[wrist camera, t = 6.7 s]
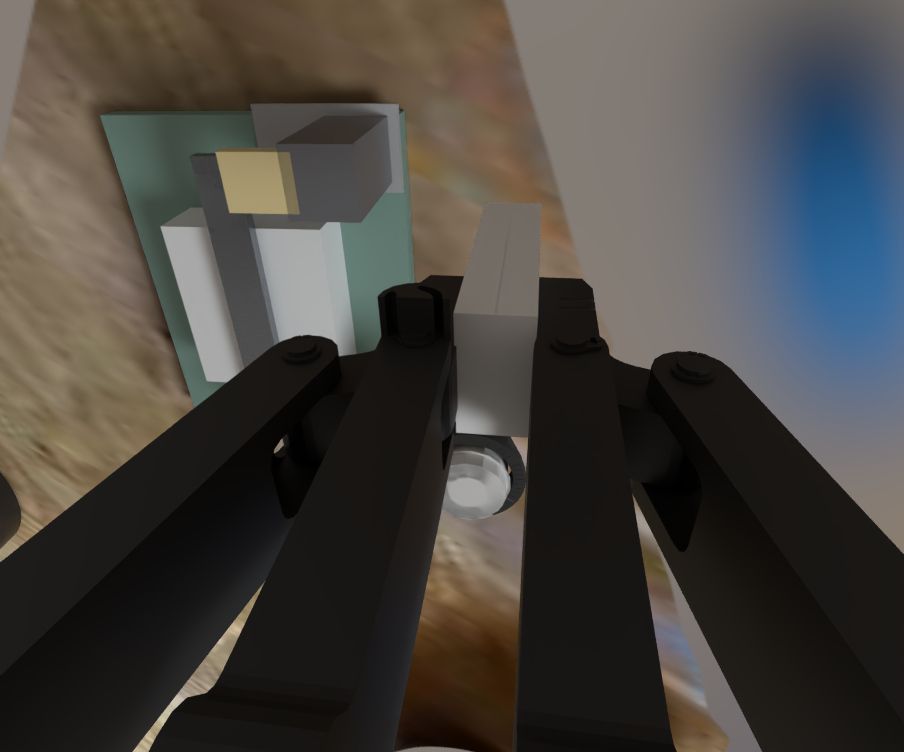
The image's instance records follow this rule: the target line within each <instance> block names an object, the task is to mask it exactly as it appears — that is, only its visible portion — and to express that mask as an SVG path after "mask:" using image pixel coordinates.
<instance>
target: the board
mask: <svg viewBox="0 0 904 752" xmlns="http://www.w3.org/2000/svg"><path fill="white" fill-rule="evenodd" d="M250 107H251V111H113V112H110V113H106V114H103V115H100V117H101V120H102V123H103V126H104V129H105V133H106V136H107V139H108V142H109V145H110V148H111V151H112V154H113V157H114V160H115V163H116V167H117V170H118V173H119V176H120V179H121V182H122V185H123V188H124V191H125V194H126V197H127V201H128V204H129V207H130V210H131V213H132V216H133V219H134V222H135V225H136V228H137V231H138V235H139V238H140V241H141V244H142V247H143V250H144V253H145V256H146V259H147V262H148V265H149V269H150V272H151V275H152V278H153V281H154V284H155V287H156V290H157V293H158V296H159V299H160V303H161V306H162V309H163V312H164V315H165V318H166V321H167V324H168V327H169V330H170V333H171V337H172V340H173V343H174V346H175V349H176V352H177V355H178V358H179V361H180V364H181V368H182V371H183V374H184V377H185V380H186V383H187V386H188V389H189V392H190V395H191V398H192V402H193V405H194V408H195V407H196V406H198V405H199V404H200V403H202V402H203V401H204V400H205V399H207V398H208V397H209V396H210V395H212V394H213V393H214V392H215V391H217V390H218V389H219V388H220V387H222V386H223V385H224V384H225V383H227V382H228V381H229V380H230V379H232V378H233V377H234V376H236V375H237V374H238V373H239V372H241V371H242V370H243V369H244V366H243V362H242V358H241V354H240V350H239V347H238V343H237V339H236V335H235V331H234V327H233V323H232V319H231V316H230V312H229V308H228V304H227V300H226V296H225V292H224V288H223V285H222V281H221V277H220V273H219V269H218V265H217V261H216V257H215V254H214V250H213V246H212V242H211V238H210V234H209V230H208V226H207V223H206V219H205V215H204V211H203V207H202V203H201V199H200V195H199V192H198V188H197V184H196V180H195V176H194V172H193V168H192V164H191V160H190V157H189V156H191V155H193V154H195V153H215V152H216V151H218V150H220V149H222V148H276V143H278V142H280V141H281V140H283V139H285V138H287V137H288V136H290V135H292V134H294V133H295V132H297V131H299V130H301V129H302V128H304V127H306V126H307V125H309V124H311V123H313V122H314V121H316V120H318V119H320V118H321V117H323V116H387V119H388V132H389V145H390V158H391V171H392V184H391V185H390V186H389V187H388V189H387V190H386V191H385V193H384V194H383V195H382V196H381V198H380V199H379V200H378V202H377V203H376V204H375V205H374V207H373V208H372V209H371V211H370V212H369V213H368V214H367V216H366V217H365V218H364V220H363V221H362V222H361V223H344V222H295V221H289V217H288V214H255V213H252V215H253V220H254V225H255V230H256V234H257V239H258V244H259V248H260V253H261V258H262V263H263V267H264V272H265V277H266V281H267V286H268V291H269V295H270V300H271V305H272V310H273V314H274V319H275V324H276V328H277V333H278V338H279V342H281V341H283V340H286V339H290V338H292V337H294V336H299V335H301V336H303V335H313V336H322V337H325V338H328V339H331V340H333V341H334V342H335V343H336V344H337V346H338V352H339V356H344V355H352V354H359V353H364V352H369V351H372V350H375V349H376V347H377V345H378V342H379V340H380V338H381V327H380V318H379V308H378V298H377V296H378V295H379V294H380V293H381V292H382V291H384V290H386V289H388V288H390V287H392V286H396V285H401V284H405V283H415V277H414V261H413V244H412V228H411V212H410V195H409V179H408V162H407V146H406V130H405V113H404V110H399V103H255V104H250Z"/></svg>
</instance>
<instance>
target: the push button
mask: <svg viewBox="0 0 904 752" xmlns="http://www.w3.org/2000/svg"><path fill="white" fill-rule="evenodd" d="M453 440H454V450H453V455H452V460H451V465H450V470H449V475H448V480H447V485H446V490H445V495H444V500H443V505H442V510H444V511H446V512H448V513H449V514H451V515H453V516H455V517H460V518H465V519H470V520H471V519H478V518H486V517H488V516H491V515H495V514H498V513H501V512H503V511H505V510H507V509H508V508H510V507H511V506H513V505H514V504H515V503H516V502H517V501H518V500H519V498H520V497H521V495H522V493H523V491H524V488H525V482H526V471H525V466H524V463H523V461H522V457H521V455H520V453H519V451H518V449H517V448H516V446H515V444H514V442H513V440H512V439H511V437H510V436H497V435H483V434H468V433H456V418H455V423H454V428H453ZM508 465H509V466H510V468H511V472H510V474H509V475H508V473H507V471H508Z"/></svg>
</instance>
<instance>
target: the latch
mask: <svg viewBox="0 0 904 752" xmlns="http://www.w3.org/2000/svg"><path fill="white" fill-rule="evenodd" d="M215 153H216V157H217V161H218V166H219V170H220V174H221V178H222V183H223V187H224V191H225V196H226V200H227V204H228V209H229V213H255V214H288V217H289V221H295V222H344V223H361V222H362V221H363V220H364V218H365V217H366V216H367V214H368V213H369V212H370V211H371V209H372V208H373V207H374V205H375V204H376V203H377V202H378V200H379V199H380V198H381V196H382V195H383V194H384V193H385V191H386V190H387V189H388V187H389V186H390V185H391V184H392V171H391V158H390V145H389V132H388V119H387V116H323V117H321V118H320V119H318V120H316V121H314V122H313V123H311V124H309V125H307V126H306V127H304V128H302V129H301V130H299V131H297V132H295V133H294V134H292V135H290V136H288V137H287V138H285V139H283V140H281V141H280V142H278V143H276V148H222V149H220V150H218V151H216V152H215Z"/></svg>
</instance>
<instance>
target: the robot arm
mask: <svg viewBox="0 0 904 752" xmlns="http://www.w3.org/2000/svg"><path fill="white" fill-rule="evenodd" d="M541 205H542V204H540V203H488V202H486V203H485V207H484V210H483V214H482V217H481V221H480V224H479V227H478V231H477V234H476V238H475V241H474V244H473V248H472V251H471V255H470V258H469V262H468V265H467V268H466V272H465V275H464V276H440V275H430V276H429V277H428V278H426V279H425V280H423V281H422V282H420V283H405V284H401V285H396V286H392V287H390V288H388V289H386V290H384V291H382V292H381V293H380V294H379V295H378V296H377V298H378V308H379V318H380V327H381V338H380V340H379V342H378V345H377V347H376V349H375V350H372V351H369V352H364V353H359V354H352V355H344V356H339V352H338V346H337V344H336V343H335V342H334V341H333V340H331V339H328V338H325V337H322V336H313V335H303V336H301V335H299V336H294V337H292V338H290V339H286V340H283V341H281V342H279V343H277V344H276V345H274V346H272V347H271V348H269V349H268V350H267V351H266V352H264V353H263V354H262V355H261V356H259V357H258V358H257V359H256V360H254V361H253V362H252V363H251V364H249V365H248V366H247V367H246V368H244V369H243V370H242V371H241V372H239V373H238V374H237V375H236V376H234V377H233V378H232V379H230V380H229V381H228V382H227V383H225V384H224V385H223V386H222V387H220V388H219V389H218V390H217V391H215V392H214V393H213V394H212V395H210V396H209V397H208V398H207V399H205V400H204V401H203V402H202V403H200V404H199V405H198V406H196V407H195V408H194V409H193V410H191V411H190V412H189V413H188V414H186V415H185V416H184V417H183V418H181V419H180V420H179V421H178V422H176V423H175V424H174V425H173V426H171V427H170V428H169V429H168V430H166V431H165V432H164V433H162V434H161V435H160V436H159V437H157V438H156V439H155V440H154V441H152V442H151V443H150V444H149V445H147V446H146V447H145V448H144V449H142V450H141V451H140V452H139V453H137V454H136V455H135V456H134V457H132V458H131V459H130V460H129V461H127V462H126V463H125V464H123V465H122V466H121V467H120V468H118V469H117V470H116V471H115V472H113V473H112V474H111V475H110V476H108V477H107V478H106V479H105V480H103V481H102V482H101V483H100V484H98V485H97V486H96V487H95V488H93V489H92V490H91V491H89V492H88V493H87V494H86V495H84V496H83V497H82V498H81V499H79V500H78V501H77V502H76V503H74V504H73V505H72V506H71V507H69V508H68V509H67V510H66V511H64V512H63V513H62V514H61V515H59V516H58V517H57V518H55V519H54V520H53V521H52V522H50V523H49V524H48V525H47V526H45V527H44V528H43V529H42V530H40V531H39V532H38V533H37V534H35V535H34V536H33V537H32V538H30V539H29V540H28V541H27V542H25V543H24V544H23V545H21V546H20V547H19V548H18V549H16V550H15V551H14V552H13V553H11V554H10V555H9V556H8V557H6V558H5V559H4V560H3V561H1V562H0V752H132V751H133V750H134V749H135V748H136V746H137V745H138V744H139V742H140V741H141V740H142V739H143V737H144V736H145V735H146V733H147V732H148V731H149V730H150V728H151V727H152V726H153V724H154V723H155V722H156V721H157V719H158V718H159V717H160V715H161V714H162V713H163V712H164V710H165V709H166V708H167V706H168V705H169V704H170V703H171V701H172V700H173V699H174V697H175V696H176V695H177V694H178V692H179V691H180V690H181V688H182V687H183V686H184V685H185V683H186V682H187V681H188V679H189V678H190V677H191V675H192V674H193V673H194V672H195V670H196V669H197V668H198V666H199V665H200V664H201V663H202V661H203V660H204V659H205V657H206V656H207V655H208V654H209V652H210V651H211V650H212V648H213V647H214V646H215V645H216V643H217V642H218V641H219V639H220V638H221V637H222V636H223V634H224V633H225V632H226V630H227V629H228V628H229V627H230V625H231V624H232V623H233V621H234V620H235V619H236V618H237V616H238V615H239V614H240V612H241V611H242V610H243V609H244V607H245V606H246V605H247V603H248V602H249V601H250V600H251V598H252V597H253V596H254V594H255V593H256V592H257V590H258V589H259V588H260V587H261V585H262V584H263V583H264V581H265V580H266V581H265V583H264V585H263V587H262V589H261V591H260V593H259V595H258V598H257V600H256V602H255V604H254V606H253V608H252V610H251V612H250V614H249V616H248V619H247V621H246V623H245V625H244V627H243V629H242V631H241V633H240V635H239V638H238V640H237V642H236V644H235V646H234V648H233V650H232V652H231V654H230V657H229V659H228V661H227V663H226V665H225V667H224V669H223V671H222V673H221V675H220V677H219V678H218V680H217V682H216V684H215V685H214V686H213V687H212V688H211V689H210V690H209V691H208V692H207V693H205V694H200V695H196V696H192V697H187V698H186V699H185V700H184V701H183V702H182V703H181V704H180V705H179V706H178V707H177V708H176V709H174V710H173V711H172V713H171V714H170V716H169V718H168V719H167V721H166V722H165V724H164V725H163V727H162V728H161V730H160V732H159V733H158V735H157V736H156V738H155V740H154V742H153V744H152V746H151V748H150V750H149V752H393V748H394V743H395V738H396V733H397V728H398V723H399V718H400V713H401V708H402V704H403V699H404V694H405V689H406V684H407V679H408V674H409V669H410V664H411V659H412V654H413V649H414V644H415V639H416V634H417V629H418V624H419V619H420V614H421V609H422V604H423V599H424V594H425V589H426V584H427V579H428V574H429V569H430V564H431V559H432V554H433V549H434V544H435V539H436V535H437V530H438V525H439V520H440V515H441V510H442V505H443V500H444V495H445V490H446V485H447V480H448V475H449V470H450V465H451V460H452V455H453V450H454V440H453V428H454V423H455V418H456V433H468V434H483V435H497V436H512V437H527V438H528V450H527V466H526V482H525V483H526V490H525V510H524V530H523V550H522V570H521V591H520V611H519V631H518V651H517V671H516V691H515V712H514V732H513V752H677V751H676V749H675V746H674V743H673V739H672V734H671V730H670V723H669V717H668V711H667V705H666V699H665V693H664V686H663V680H662V674H661V668H660V662H659V656H658V649H657V643H656V637H655V631H654V625H653V619H652V612H651V606H650V600H649V594H648V588H647V582H646V575H645V569H644V563H643V557H642V551H641V545H640V538H639V532H638V526H637V520H636V514H635V508H634V501H633V495H634V497H635V499H636V501H637V503H638V505H639V507H640V509H641V511H642V513H643V515H644V517H645V519H646V521H647V523H648V525H649V527H650V529H651V531H652V533H653V535H654V537H655V539H656V541H657V543H658V545H659V547H660V549H661V551H662V553H663V555H664V557H665V559H666V561H667V563H668V565H669V567H670V569H671V571H672V573H673V575H674V577H675V579H676V581H677V583H678V585H679V587H680V588H681V591H682V593H683V595H684V597H685V599H686V601H687V603H688V605H689V607H690V609H691V611H692V612H693V615H694V617H695V619H696V621H697V623H698V624H699V627H700V628H701V631H702V633H703V635H704V637H705V639H706V641H707V643H708V645H709V647H710V649H711V651H712V653H713V655H714V657H715V658H716V661H717V663H718V665H719V666H720V668H721V671H722V672H723V674H724V676H725V678H726V680H727V682H728V684H729V686H730V688H731V690H732V692H733V694H734V696H735V698H736V700H737V702H738V704H739V706H740V708H741V710H742V712H743V714H744V716H745V718H746V720H747V722H748V724H749V726H750V728H751V730H752V732H753V734H754V736H755V738H756V740H757V742H758V744H759V746H760V748H761V750H762V752H904V554H903V553H902V552H901V551H900V550H899V549H898V548H897V547H896V545H895V544H894V543H893V542H892V541H891V540H890V539H889V538H888V537H887V536H886V535H885V534H884V533H883V532H882V530H881V529H880V528H879V527H878V526H877V525H876V524H875V523H874V522H873V521H872V520H871V519H870V518H869V517H868V516H867V514H866V513H865V512H864V511H863V510H862V509H861V508H860V507H859V506H858V505H857V504H856V503H855V501H854V500H853V499H852V498H851V497H850V496H849V495H848V494H847V493H846V492H845V491H844V490H843V489H842V488H841V486H840V485H839V484H838V483H837V482H836V481H835V480H834V479H833V478H832V477H831V476H830V475H829V474H828V472H827V471H826V470H825V469H824V468H823V467H822V466H821V465H820V464H819V463H818V462H817V461H816V460H815V459H814V458H813V457H812V455H811V454H810V453H809V452H808V451H807V450H806V449H805V448H804V447H803V446H802V445H801V443H799V441H798V440H797V439H796V438H795V437H794V436H793V435H792V434H791V433H790V432H789V431H788V430H787V428H786V427H785V426H784V425H783V424H782V423H781V422H780V421H779V420H778V419H777V418H776V417H775V416H774V415H773V414H772V412H771V411H770V410H769V409H768V408H767V407H766V406H765V405H764V404H763V403H762V402H761V401H760V399H759V398H758V397H757V396H756V395H755V394H754V393H753V392H752V391H751V390H750V389H749V388H748V387H747V386H746V385H745V383H744V382H743V381H742V380H741V379H740V378H739V377H738V376H737V375H736V374H735V373H734V372H733V371H732V370H731V369H730V368H729V367H728V366H726V365H725V364H724V363H723V362H721V361H719V360H717V359H715V358H712V357H710V356H708V355H706V354H702V353H697V352H691V351H688V352H678V351H677V352H671V353H666V354H663V355H661V356H659V357H657V358H656V359H655V360H654V362H653V364H652V366H651V370H650V369H645V368H641V367H636V366H633V365H629V364H626V363H623V362H621V361H619V360H617V359H615V358H613V357H612V356H610V354H609V347H608V345H607V343H606V342H605V340H604V339H603V338H601V337H600V336H599V329H598V322H597V315H596V311H595V302H594V295H593V289H592V288H591V287H590V286H589V285H588V284H587V283H586V282H585V281H584V280H583V279H574V278H545V277H539V268H540V236H541ZM282 438H283V443H284V446H283V447H282V448H281V449H280V450H279V451H278V452H276V453H275V454H274V449H275V447H276V446H277V445H278V443H279V442H280V440H281V439H282ZM632 493H633V495H632ZM20 522H21V512H20V507H19V503H18V501H17V498H16V496H15V494H14V492H13V490H12V489H11V487H10V485H9V484H8V483H7V481H6V480H5V478H4V477H3V476H2V475H1V474H0V549H1V548H2V547H3V546H4V545H5V544H6V543H7V542H8V541H9V540H10V539H11V538H12V537H13V536H14V535H15V533H16V532H17V530H18V529H19V526H20Z"/></svg>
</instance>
